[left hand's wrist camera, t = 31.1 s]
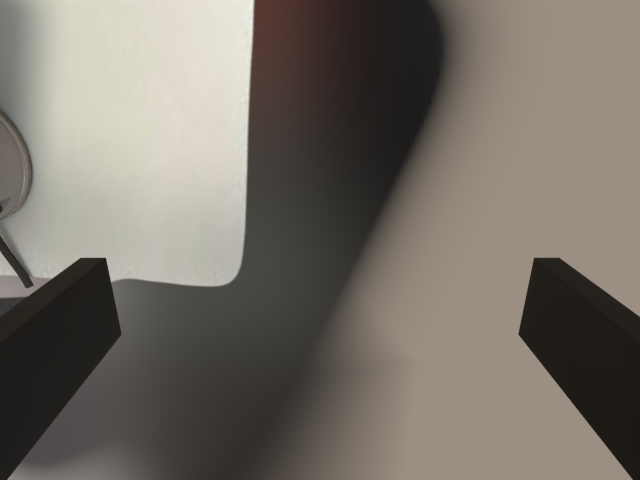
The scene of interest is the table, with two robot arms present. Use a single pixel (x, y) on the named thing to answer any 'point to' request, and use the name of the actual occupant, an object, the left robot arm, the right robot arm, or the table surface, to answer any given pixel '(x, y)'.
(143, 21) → the table surface
